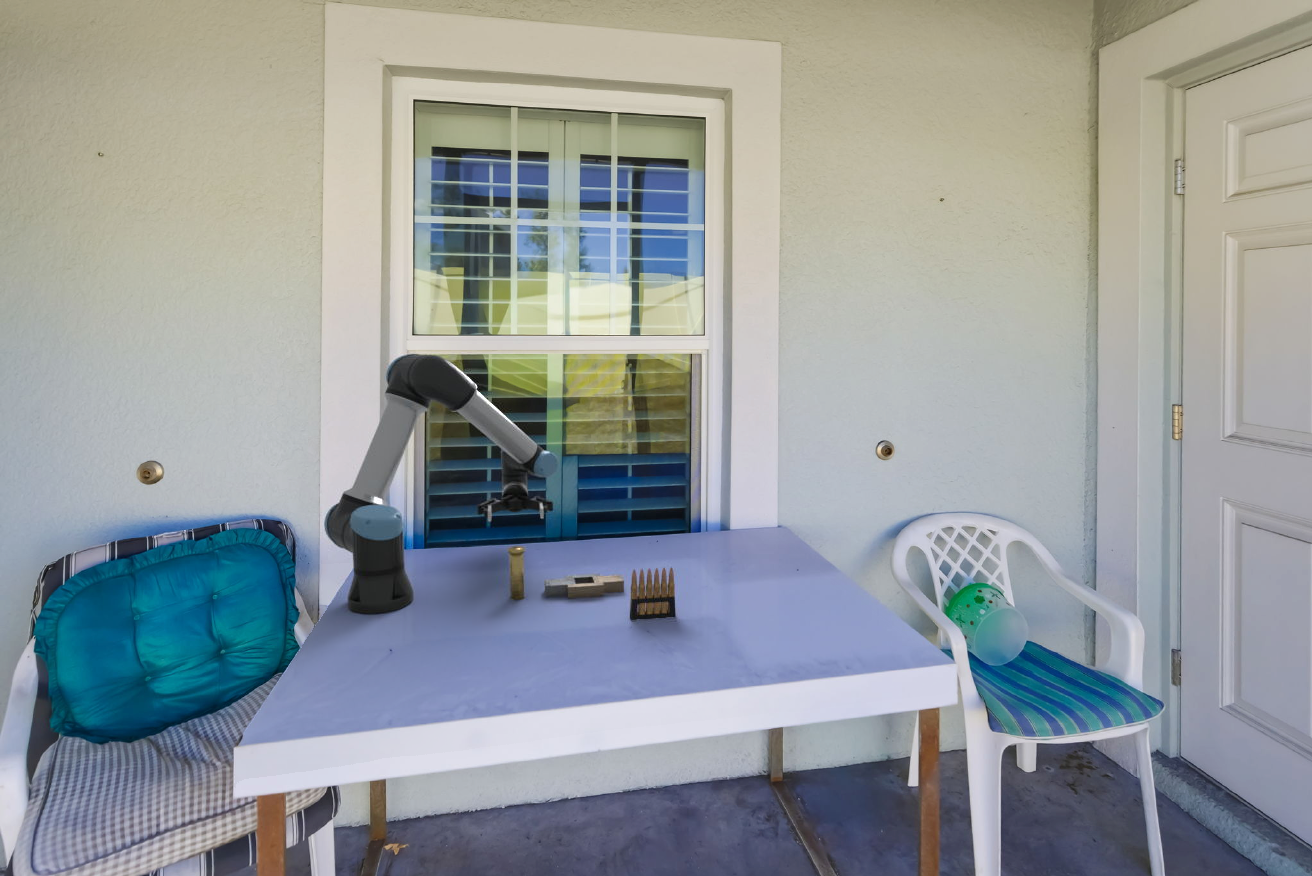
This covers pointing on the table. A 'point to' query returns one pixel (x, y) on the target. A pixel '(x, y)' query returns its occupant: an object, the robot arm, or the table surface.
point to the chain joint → (584, 586)
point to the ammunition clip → (652, 596)
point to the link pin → (516, 572)
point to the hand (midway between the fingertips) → (515, 515)
